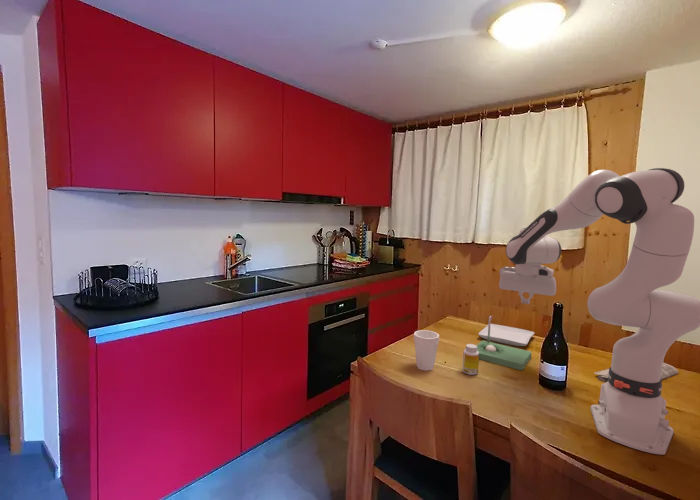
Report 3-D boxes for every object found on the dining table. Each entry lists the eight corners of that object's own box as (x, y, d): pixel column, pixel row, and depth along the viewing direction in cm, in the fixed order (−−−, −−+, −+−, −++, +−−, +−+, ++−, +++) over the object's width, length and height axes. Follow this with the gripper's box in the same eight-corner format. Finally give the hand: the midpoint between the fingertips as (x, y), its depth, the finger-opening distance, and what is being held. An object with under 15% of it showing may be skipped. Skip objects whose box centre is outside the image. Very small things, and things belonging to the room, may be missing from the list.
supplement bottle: (480, 375, 129) (482, 348, 128) (465, 375, 129) (467, 348, 128) (474, 368, 135) (476, 343, 134) (460, 368, 135) (461, 342, 134)
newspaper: (629, 394, 119) (631, 384, 119) (591, 378, 130) (592, 369, 130) (679, 374, 135) (680, 365, 134) (641, 361, 146) (642, 353, 145)
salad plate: (489, 328, 183) (489, 322, 183) (534, 337, 171) (535, 331, 170) (477, 340, 166) (477, 333, 166) (526, 351, 154) (527, 344, 153)
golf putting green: (522, 370, 134) (522, 364, 134) (469, 356, 146) (470, 350, 146) (531, 357, 146) (531, 351, 146) (482, 345, 159) (482, 340, 158)
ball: (490, 358, 147) (496, 353, 145) (482, 351, 148) (488, 346, 146) (492, 353, 151) (499, 348, 148) (484, 346, 152) (491, 341, 149)
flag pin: (488, 343, 155) (490, 316, 154) (487, 342, 155) (488, 316, 154) (491, 340, 158) (493, 314, 156) (489, 340, 158) (491, 314, 157)
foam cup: (432, 374, 129) (434, 340, 128) (409, 368, 134) (410, 335, 133) (440, 365, 137) (442, 333, 136) (418, 359, 142) (419, 328, 141)
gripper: (497, 266, 142) (495, 300, 143) (556, 272, 129) (553, 309, 131) (502, 265, 147) (500, 297, 148) (558, 270, 134) (555, 306, 136)
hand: (525, 303), depth 139 cm, fingers closed
